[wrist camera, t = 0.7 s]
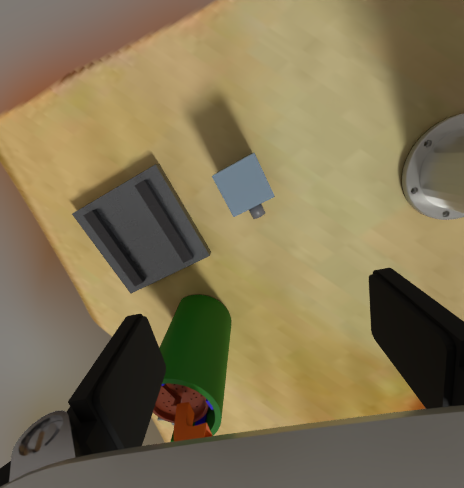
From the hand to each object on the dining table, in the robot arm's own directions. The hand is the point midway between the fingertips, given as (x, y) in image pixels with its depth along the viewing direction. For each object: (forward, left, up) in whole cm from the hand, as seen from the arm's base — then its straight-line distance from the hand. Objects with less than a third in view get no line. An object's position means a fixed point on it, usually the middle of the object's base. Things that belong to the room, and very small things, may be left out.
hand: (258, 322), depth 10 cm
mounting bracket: (+15, -3, -26) cm, 30 cm away
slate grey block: (-1, -3, -26) cm, 26 cm away
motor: (+15, +14, -26) cm, 33 cm away
